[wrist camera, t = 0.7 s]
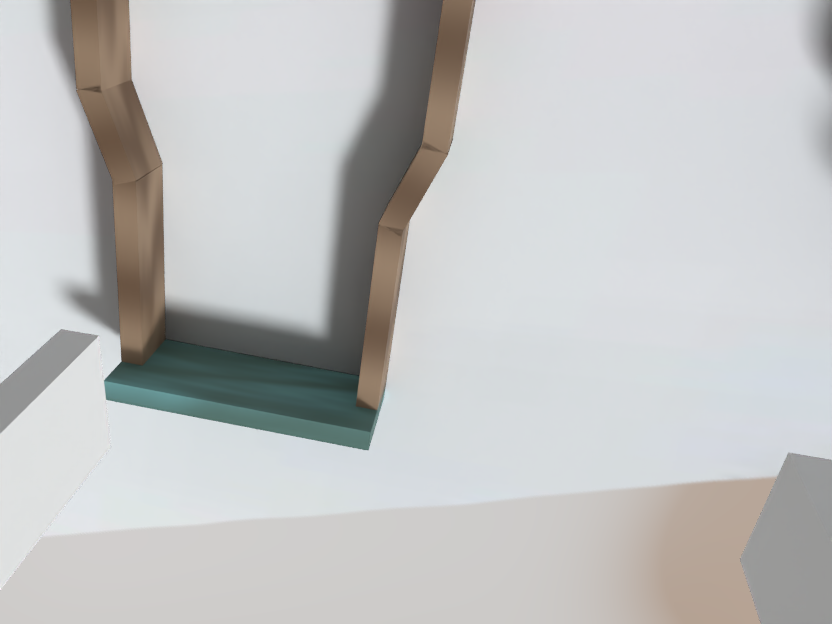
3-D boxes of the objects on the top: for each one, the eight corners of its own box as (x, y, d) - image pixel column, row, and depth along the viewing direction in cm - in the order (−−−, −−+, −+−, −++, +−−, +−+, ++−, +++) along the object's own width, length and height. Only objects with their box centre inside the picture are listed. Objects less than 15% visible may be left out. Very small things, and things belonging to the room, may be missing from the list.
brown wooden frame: (94, -190, 32) (25, -210, 28) (497, -127, 31) (492, -137, 27) (121, 348, 44) (77, 394, 40) (409, 402, 44) (396, 455, 39)
